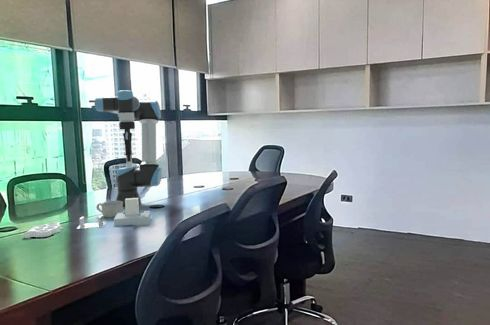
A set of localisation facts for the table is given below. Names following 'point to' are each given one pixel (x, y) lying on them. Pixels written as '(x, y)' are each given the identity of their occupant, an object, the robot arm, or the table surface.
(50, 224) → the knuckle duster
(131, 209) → the plug
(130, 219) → the switch box
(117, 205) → the teacup
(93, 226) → the holster
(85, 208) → the table surface
